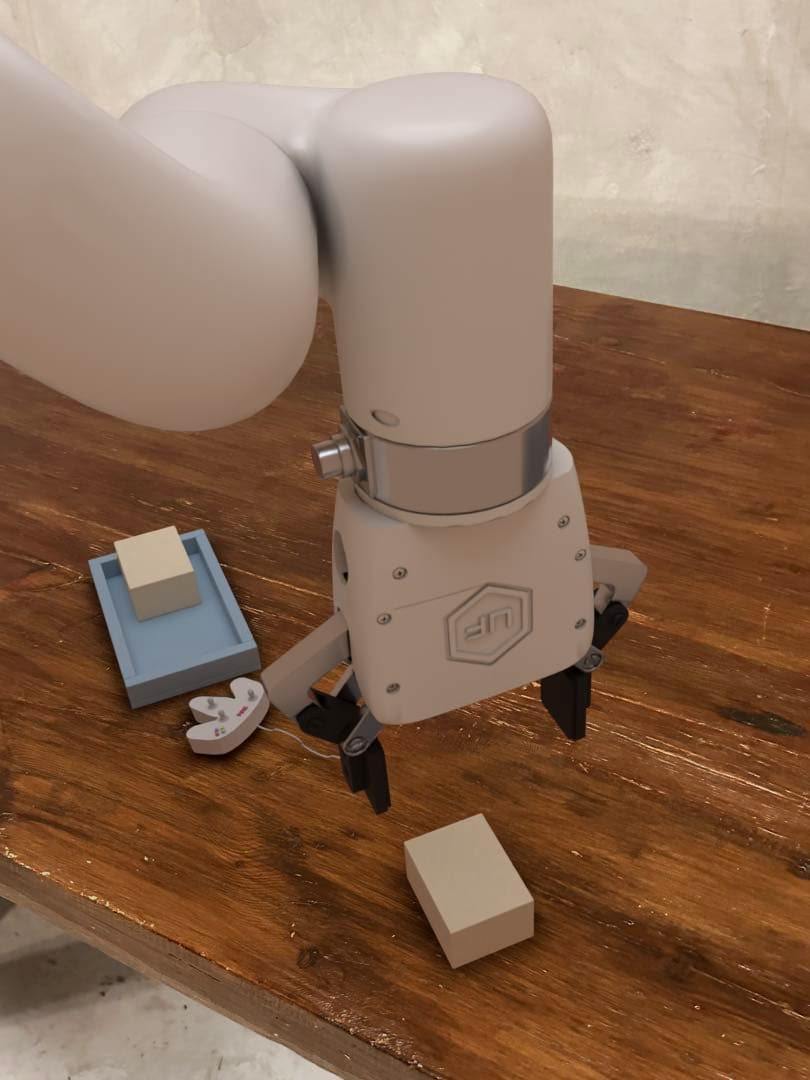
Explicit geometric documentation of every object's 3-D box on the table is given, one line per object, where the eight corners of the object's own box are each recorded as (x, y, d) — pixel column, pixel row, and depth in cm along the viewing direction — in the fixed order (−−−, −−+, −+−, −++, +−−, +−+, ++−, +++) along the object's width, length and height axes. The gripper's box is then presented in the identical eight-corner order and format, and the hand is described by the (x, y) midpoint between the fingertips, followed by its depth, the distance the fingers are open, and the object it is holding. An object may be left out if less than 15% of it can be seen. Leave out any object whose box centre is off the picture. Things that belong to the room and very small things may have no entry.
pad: (533, 936, 57) (534, 900, 55) (452, 969, 56) (450, 933, 54) (482, 848, 61) (481, 812, 60) (406, 877, 60) (403, 841, 58)
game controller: (203, 691, 73) (197, 661, 71) (378, 706, 71) (375, 676, 69) (174, 757, 68) (166, 727, 67) (360, 774, 66) (356, 744, 65)
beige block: (201, 603, 79) (194, 570, 77) (138, 622, 78) (129, 589, 76) (182, 557, 84) (174, 524, 82) (122, 574, 82) (113, 541, 81)
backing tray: (261, 669, 74) (257, 646, 73) (132, 709, 72) (125, 687, 71) (207, 549, 85) (202, 528, 84) (93, 581, 83) (87, 560, 82)
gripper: (254, 559, 36) (318, 885, 47) (708, 423, 41) (676, 747, 51) (198, 450, 42) (266, 762, 52) (603, 341, 47) (593, 647, 57)
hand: (469, 754), depth 52 cm, fingers open, 9 cm apart
